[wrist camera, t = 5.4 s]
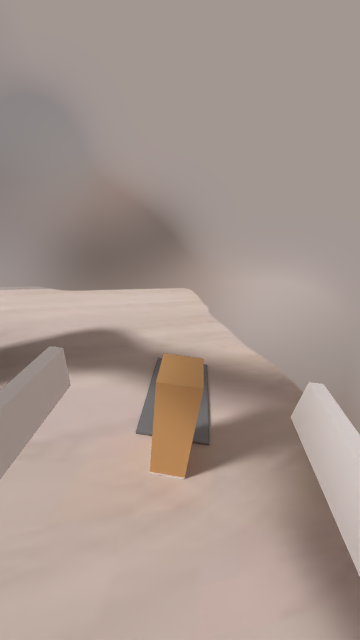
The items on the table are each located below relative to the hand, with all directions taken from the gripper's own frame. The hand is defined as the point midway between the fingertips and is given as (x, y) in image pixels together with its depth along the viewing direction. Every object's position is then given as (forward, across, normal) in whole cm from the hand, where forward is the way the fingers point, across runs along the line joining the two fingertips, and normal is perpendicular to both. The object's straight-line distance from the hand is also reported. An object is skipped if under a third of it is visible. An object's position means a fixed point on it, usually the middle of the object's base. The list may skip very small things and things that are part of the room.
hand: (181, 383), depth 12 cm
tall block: (+8, 0, -22) cm, 24 cm away
